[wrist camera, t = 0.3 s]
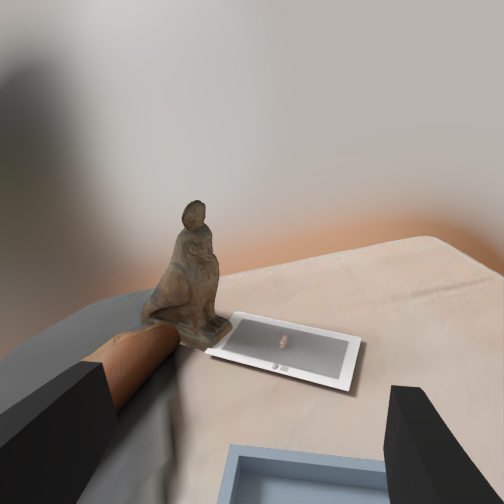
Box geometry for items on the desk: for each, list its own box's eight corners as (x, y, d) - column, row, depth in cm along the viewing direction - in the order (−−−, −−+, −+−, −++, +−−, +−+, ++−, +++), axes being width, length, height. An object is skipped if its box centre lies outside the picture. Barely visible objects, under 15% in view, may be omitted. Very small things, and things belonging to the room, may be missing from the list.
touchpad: (236, 318, 46) (234, 303, 45) (360, 345, 41) (362, 329, 40) (205, 360, 40) (202, 345, 39) (347, 399, 35) (349, 382, 34)
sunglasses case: (122, 327, 45) (136, 292, 41) (169, 362, 44) (187, 330, 40) (-26, 462, 30) (-27, 428, 27) (41, 517, 30) (50, 490, 26)
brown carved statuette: (235, 347, 45) (255, 214, 35) (203, 375, 41) (214, 235, 31) (168, 298, 50) (168, 172, 40) (134, 319, 46) (125, 185, 36)
